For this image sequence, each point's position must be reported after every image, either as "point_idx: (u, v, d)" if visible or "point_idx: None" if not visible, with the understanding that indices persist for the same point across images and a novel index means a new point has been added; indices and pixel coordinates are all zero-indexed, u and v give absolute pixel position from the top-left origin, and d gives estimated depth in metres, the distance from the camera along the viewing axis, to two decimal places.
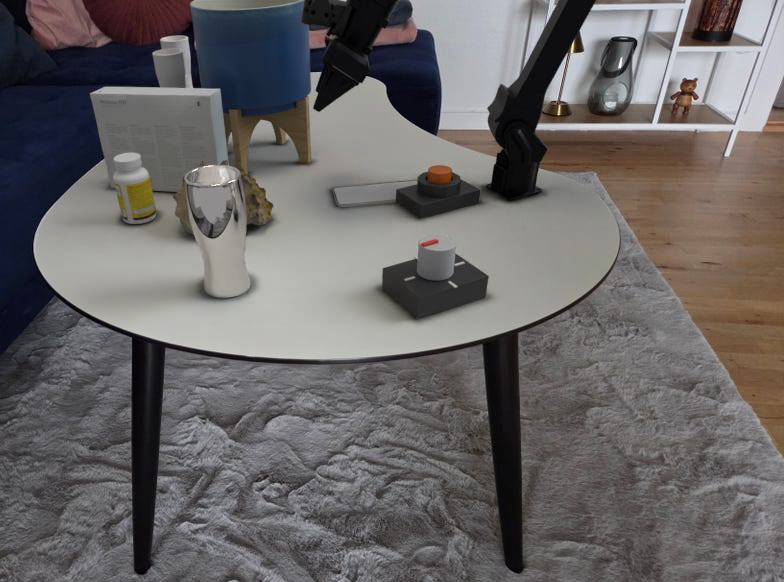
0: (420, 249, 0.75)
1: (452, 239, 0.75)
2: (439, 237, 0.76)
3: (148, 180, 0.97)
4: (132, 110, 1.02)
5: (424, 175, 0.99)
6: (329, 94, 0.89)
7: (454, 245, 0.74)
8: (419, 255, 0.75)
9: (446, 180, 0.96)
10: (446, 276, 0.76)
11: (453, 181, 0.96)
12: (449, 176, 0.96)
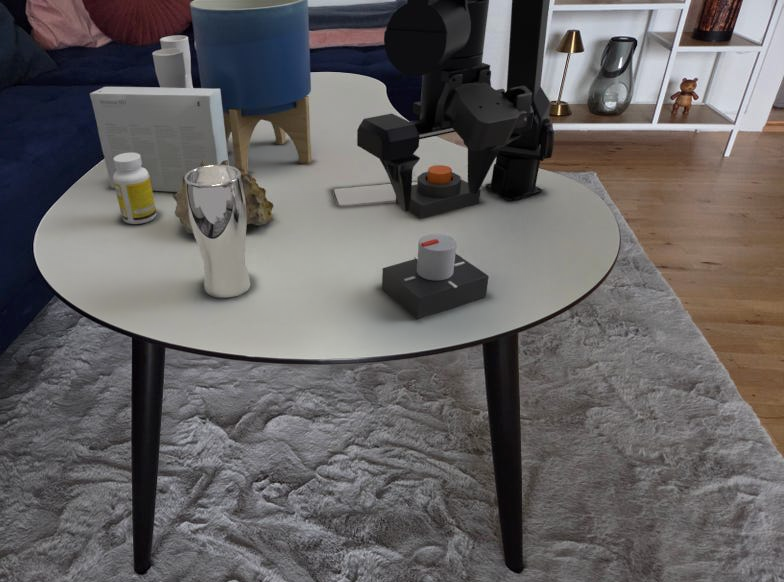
0: (420, 249, 0.75)
1: (452, 239, 0.75)
2: (439, 237, 0.76)
3: (148, 180, 0.97)
4: (132, 111, 1.02)
5: (424, 175, 0.99)
6: None
7: (454, 245, 0.74)
8: (419, 255, 0.75)
9: (446, 180, 0.96)
10: (446, 276, 0.76)
11: (453, 181, 0.96)
12: (449, 176, 0.96)
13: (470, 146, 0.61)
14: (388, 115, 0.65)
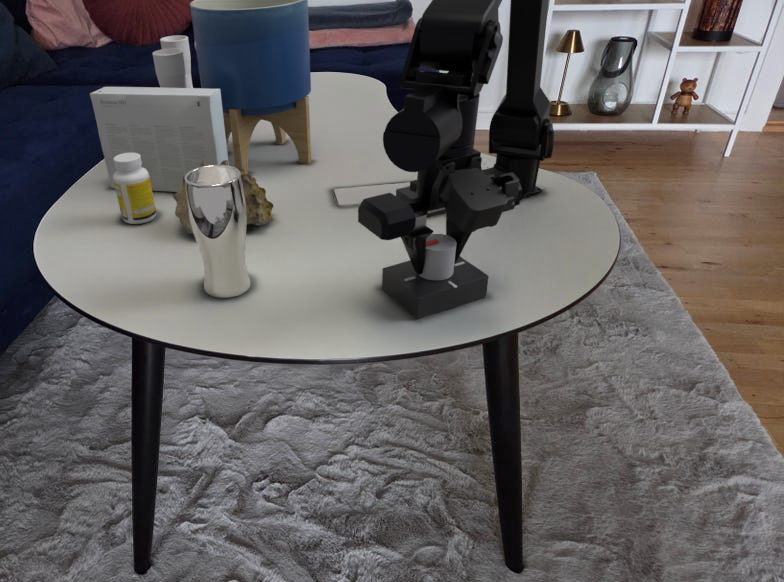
0: None
1: (452, 239, 0.75)
2: (439, 237, 0.76)
3: (148, 180, 0.97)
4: (132, 111, 1.02)
5: None
6: None
7: (454, 245, 0.74)
8: None
9: None
10: (446, 276, 0.76)
11: None
12: None
13: (463, 228, 0.66)
14: (387, 195, 0.70)
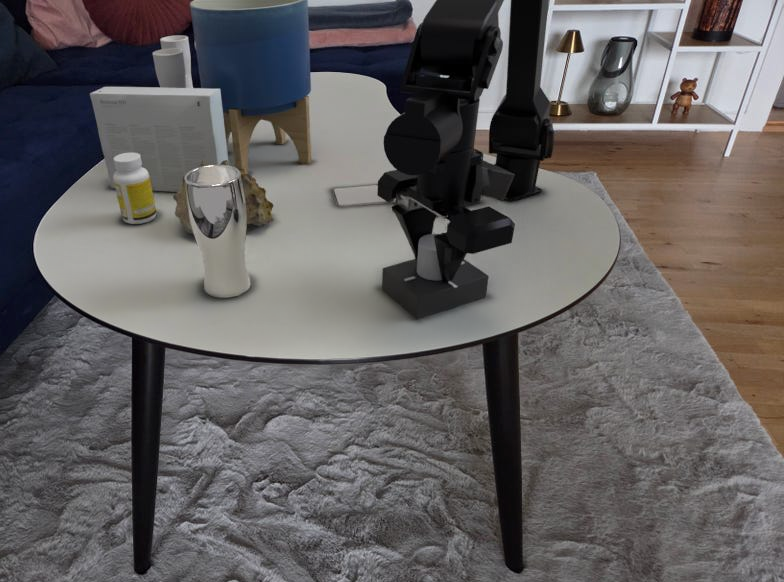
0: None
1: (431, 234, 0.76)
2: (428, 240, 0.75)
3: (148, 180, 0.97)
4: (132, 110, 1.02)
5: None
6: None
7: None
8: None
9: None
10: None
11: None
12: None
13: None
14: (462, 216, 0.66)
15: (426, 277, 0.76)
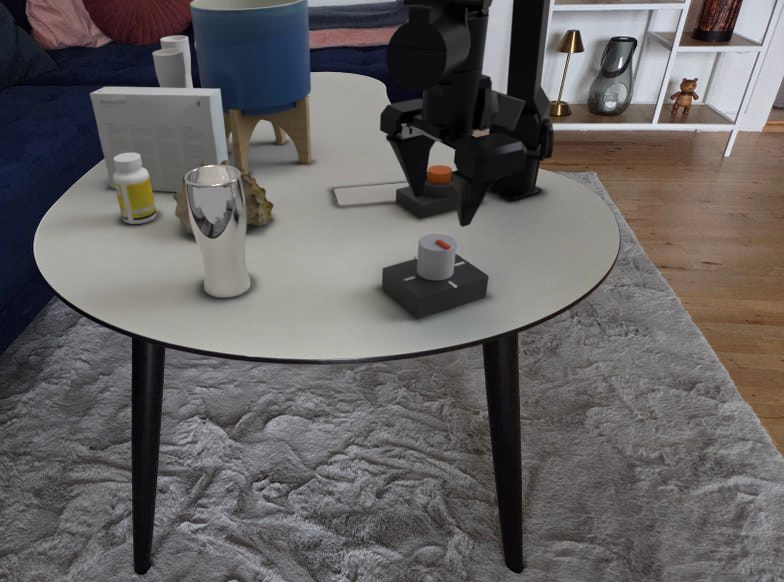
0: (445, 254, 0.74)
1: (431, 234, 0.76)
2: (428, 240, 0.75)
3: (148, 180, 0.97)
4: (132, 110, 1.02)
5: None
6: None
7: (443, 234, 0.76)
8: (444, 261, 0.74)
9: (446, 180, 0.96)
10: None
11: None
12: (449, 176, 0.96)
13: (514, 127, 0.69)
14: (471, 141, 0.62)
15: (426, 277, 0.76)
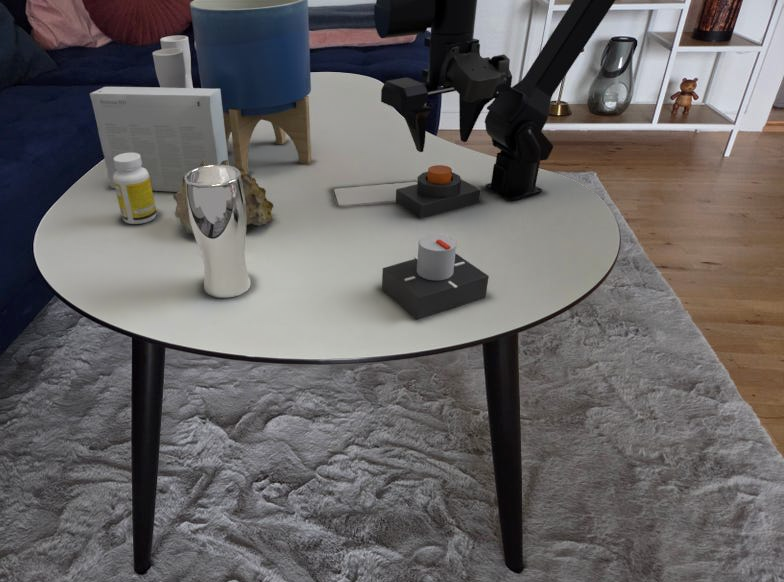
0: (445, 254, 0.74)
1: (431, 234, 0.76)
2: (428, 240, 0.75)
3: (148, 180, 0.97)
4: (132, 111, 1.02)
5: (424, 175, 0.99)
6: None
7: (443, 234, 0.76)
8: (444, 261, 0.74)
9: (446, 180, 0.96)
10: None
11: (453, 181, 0.96)
12: (449, 176, 0.96)
13: (465, 98, 0.83)
14: (404, 78, 0.88)
15: (426, 277, 0.76)
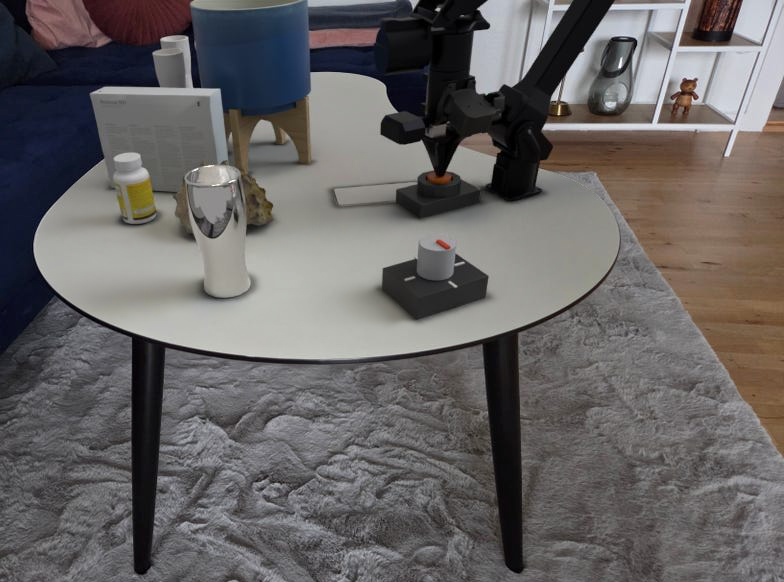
0: (445, 254, 0.74)
1: (431, 234, 0.76)
2: (428, 240, 0.75)
3: (148, 180, 0.97)
4: (132, 110, 1.02)
5: (424, 175, 0.99)
6: None
7: (443, 234, 0.76)
8: (444, 261, 0.74)
9: None
10: None
11: (453, 181, 0.96)
12: None
13: (461, 133, 0.86)
14: (402, 112, 0.91)
15: (426, 277, 0.76)
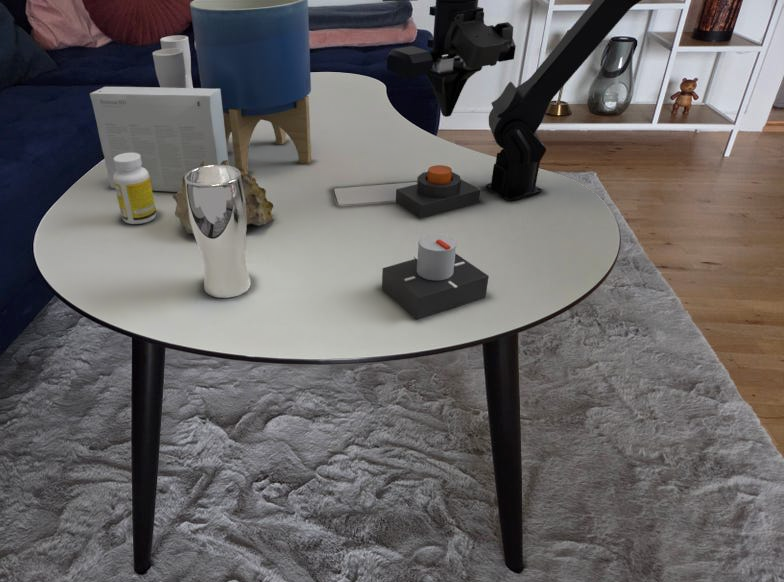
0: (445, 254, 0.74)
1: (431, 234, 0.76)
2: (428, 240, 0.75)
3: (148, 180, 0.97)
4: (132, 110, 1.02)
5: (424, 175, 0.99)
6: None
7: (443, 234, 0.76)
8: (444, 261, 0.74)
9: (446, 180, 0.96)
10: None
11: (453, 181, 0.96)
12: (449, 176, 0.96)
13: (469, 65, 0.85)
14: (409, 47, 0.90)
15: (426, 277, 0.76)
